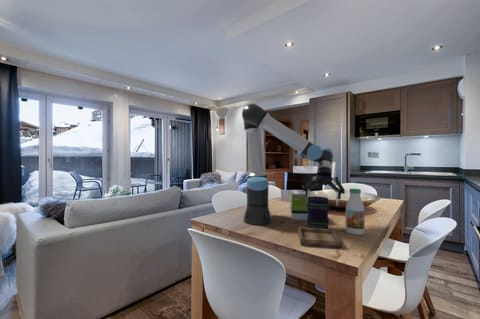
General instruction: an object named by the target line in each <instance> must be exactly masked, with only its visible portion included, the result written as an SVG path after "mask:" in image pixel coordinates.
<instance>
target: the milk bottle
mask: <svg viewBox="0 0 480 319" xmlns="http://www.w3.org/2000/svg"><path fill="white" fill-rule="evenodd" d="M361 193H362V191H361V189H359V188H349V198H348V200H347V202H346V205H345V232H346V233H347V234H350V235H355V236H363V235H365V220H366V219H365V205H364V203H363V201H362V198H361Z"/></svg>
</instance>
